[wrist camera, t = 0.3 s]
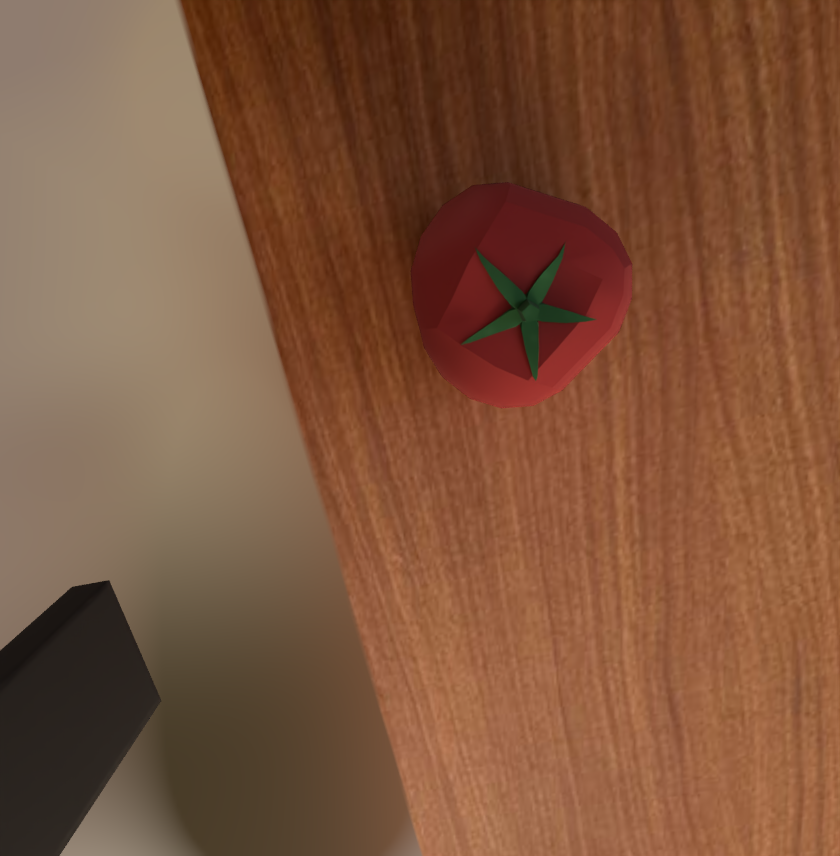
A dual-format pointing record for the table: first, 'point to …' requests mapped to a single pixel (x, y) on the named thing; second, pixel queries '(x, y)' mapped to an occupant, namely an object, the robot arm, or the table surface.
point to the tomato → (517, 292)
